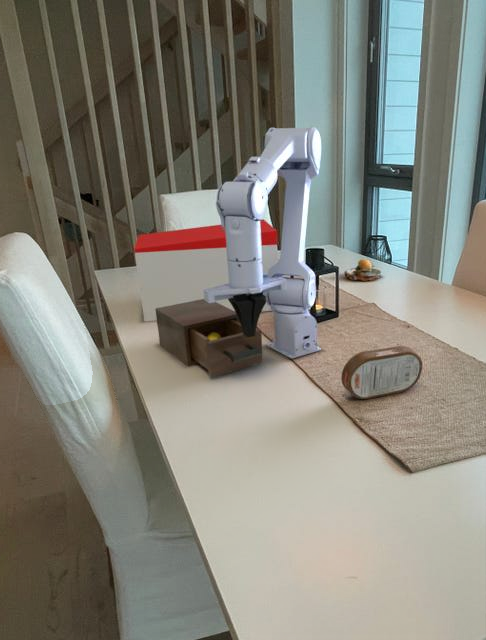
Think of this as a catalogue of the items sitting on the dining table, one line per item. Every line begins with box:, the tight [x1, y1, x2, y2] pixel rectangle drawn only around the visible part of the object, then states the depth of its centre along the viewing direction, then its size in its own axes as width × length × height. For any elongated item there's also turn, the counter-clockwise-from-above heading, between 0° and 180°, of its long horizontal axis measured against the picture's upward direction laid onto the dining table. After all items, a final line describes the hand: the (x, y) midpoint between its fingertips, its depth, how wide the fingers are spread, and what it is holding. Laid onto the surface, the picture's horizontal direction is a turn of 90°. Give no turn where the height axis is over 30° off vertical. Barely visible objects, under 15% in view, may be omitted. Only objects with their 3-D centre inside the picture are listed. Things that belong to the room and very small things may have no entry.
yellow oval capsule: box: [206, 332, 221, 341], centre depth 104 cm, size 9×3×3 cm
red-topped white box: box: [133, 218, 279, 323], centre depth 138 cm, size 21×35×21 cm, turn 104°
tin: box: [340, 345, 423, 400], centre depth 89 cm, size 15×3×8 cm, turn 111°
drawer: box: [188, 319, 264, 378], centre depth 101 cm, size 18×11×7 cm, turn 37°
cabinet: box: [155, 299, 240, 367], centre depth 110 cm, size 15×13×9 cm
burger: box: [343, 256, 382, 282], centre depth 166 cm, size 12×12×8 cm
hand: (249, 335), depth 90 cm, fingers closed
